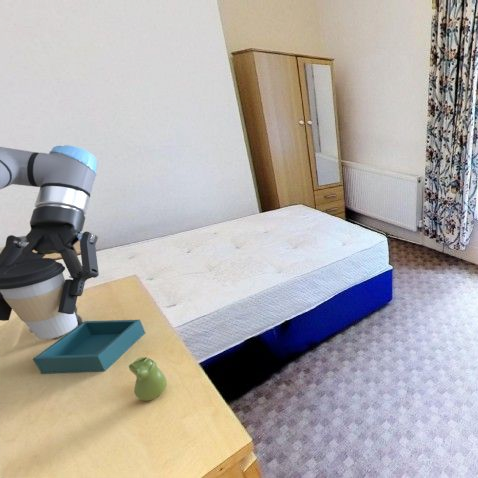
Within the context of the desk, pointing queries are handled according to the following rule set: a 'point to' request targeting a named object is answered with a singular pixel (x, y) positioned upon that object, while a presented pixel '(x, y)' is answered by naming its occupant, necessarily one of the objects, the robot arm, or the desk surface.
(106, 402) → the desk surface
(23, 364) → the desk surface
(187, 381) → the desk surface
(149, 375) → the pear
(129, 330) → the tray
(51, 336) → the coffee cup
